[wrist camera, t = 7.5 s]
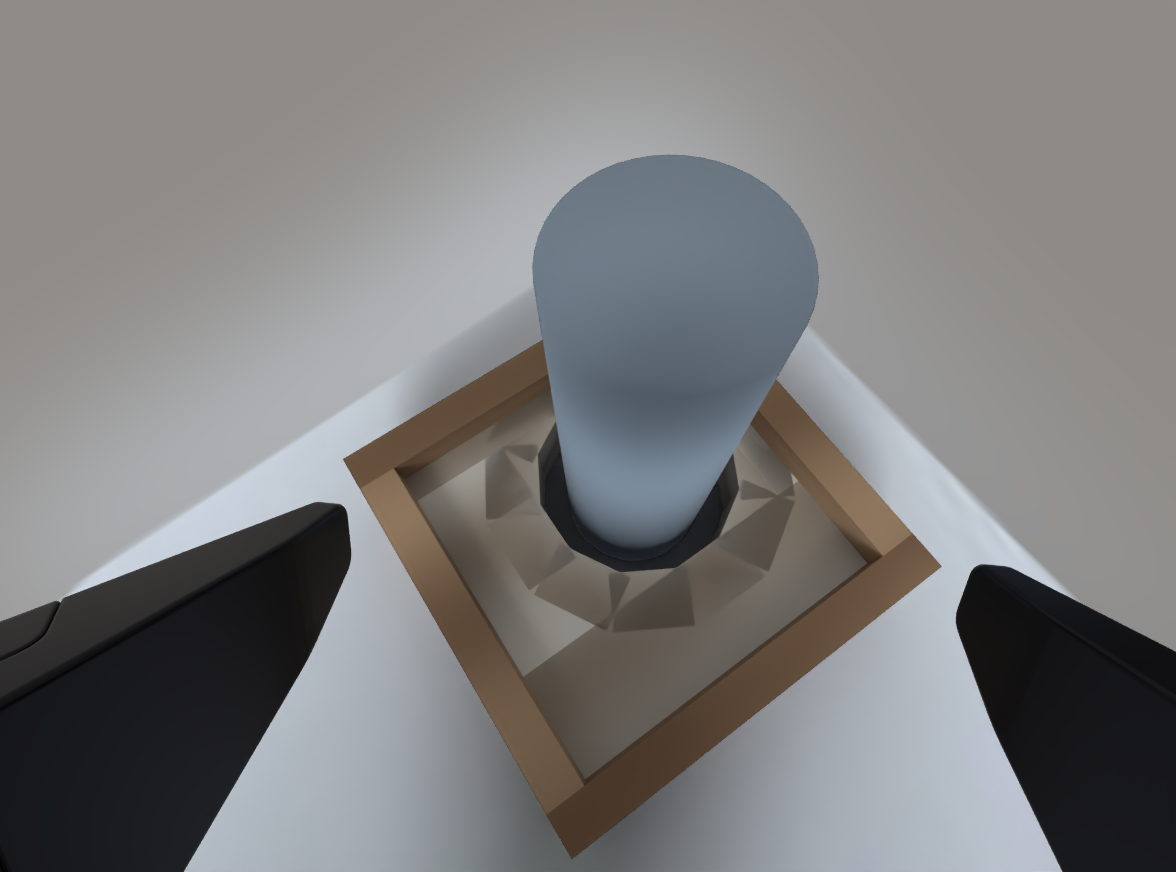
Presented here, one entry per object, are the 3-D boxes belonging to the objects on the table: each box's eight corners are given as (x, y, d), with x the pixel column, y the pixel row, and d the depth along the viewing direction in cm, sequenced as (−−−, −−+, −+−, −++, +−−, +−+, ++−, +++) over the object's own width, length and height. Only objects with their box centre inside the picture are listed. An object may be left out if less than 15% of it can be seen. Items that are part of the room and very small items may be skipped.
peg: (682, 575, 19) (797, 424, 8) (554, 542, 20) (495, 355, 8) (706, 454, 21) (834, 182, 9) (587, 426, 21) (575, 133, 10)
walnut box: (882, 586, 19) (941, 566, 16) (577, 825, 17) (571, 859, 14) (661, 323, 22) (672, 262, 19) (384, 495, 20) (342, 459, 17)
